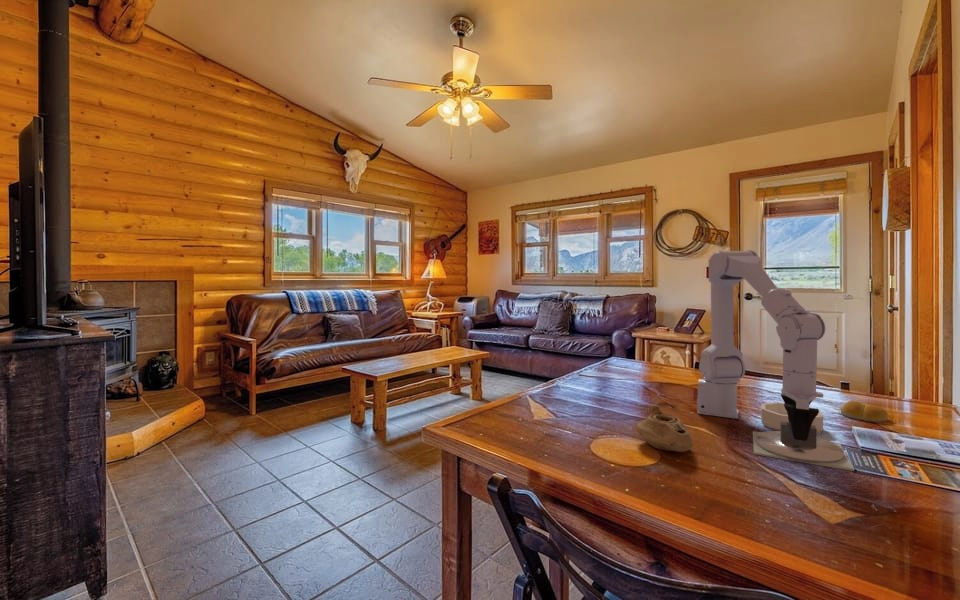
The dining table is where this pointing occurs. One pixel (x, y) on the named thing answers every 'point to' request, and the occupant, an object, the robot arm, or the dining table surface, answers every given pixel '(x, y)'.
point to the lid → (799, 445)
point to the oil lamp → (664, 431)
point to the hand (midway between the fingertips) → (798, 433)
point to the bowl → (782, 416)
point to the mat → (841, 464)
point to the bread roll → (864, 412)
